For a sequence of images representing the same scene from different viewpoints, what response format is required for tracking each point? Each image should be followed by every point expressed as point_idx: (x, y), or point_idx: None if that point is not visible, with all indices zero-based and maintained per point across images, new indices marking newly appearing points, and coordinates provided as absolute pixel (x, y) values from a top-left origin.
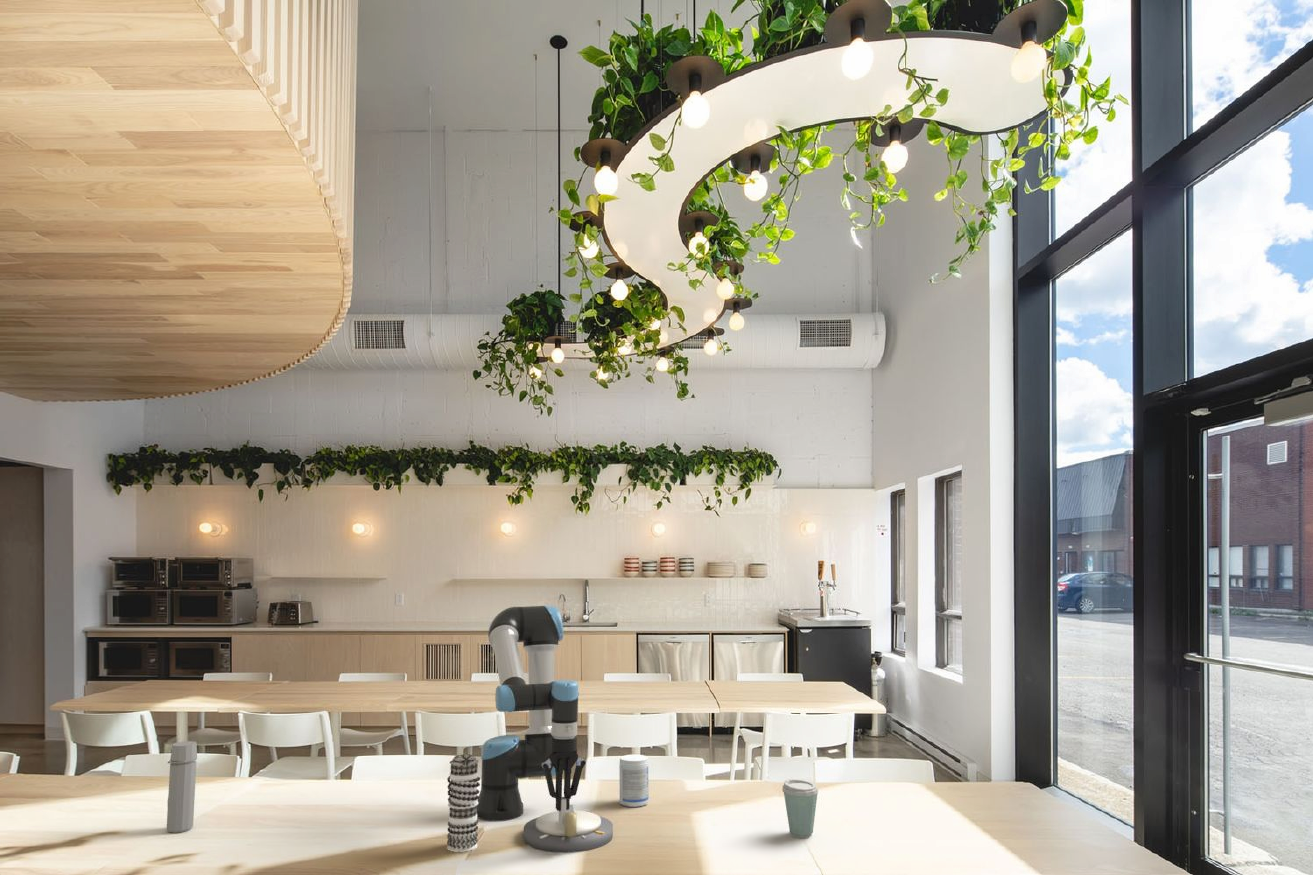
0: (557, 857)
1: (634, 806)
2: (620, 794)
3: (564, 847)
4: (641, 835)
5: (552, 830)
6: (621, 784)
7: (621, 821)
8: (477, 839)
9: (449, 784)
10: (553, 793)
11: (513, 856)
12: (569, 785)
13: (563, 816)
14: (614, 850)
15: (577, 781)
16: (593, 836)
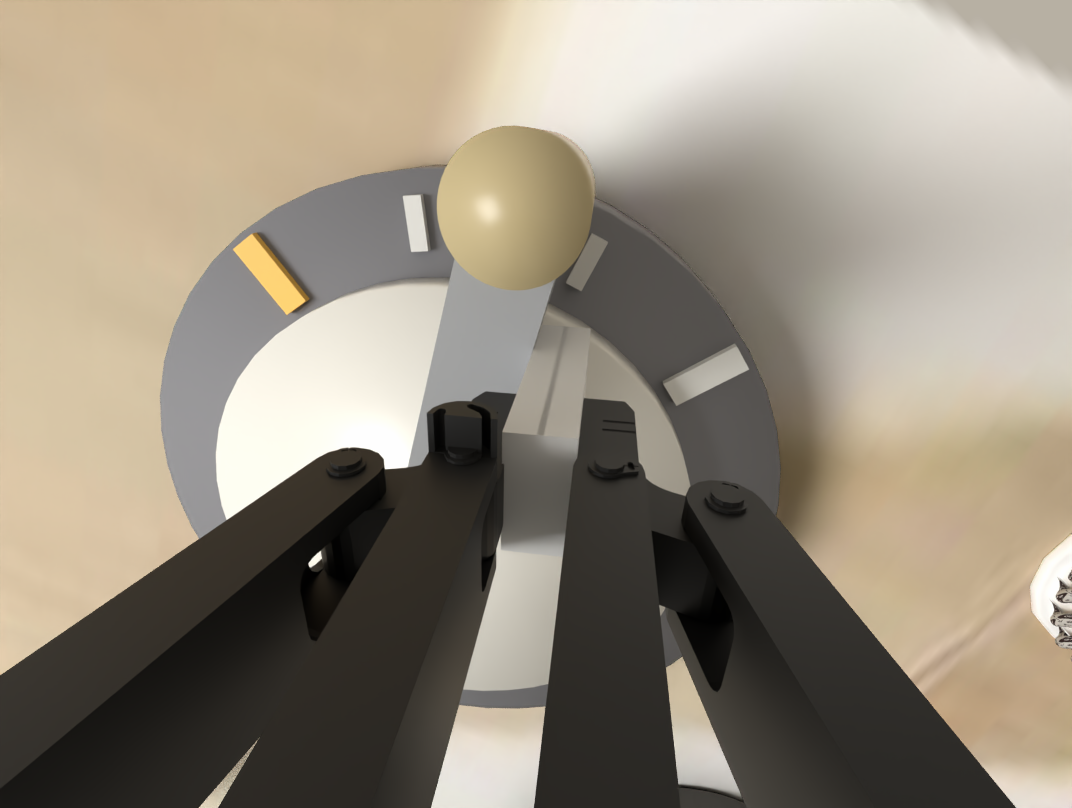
0: (688, 105)
1: None
2: None
3: (595, 201)
4: (26, 291)
5: (638, 383)
6: None
7: (133, 547)
8: (1068, 589)
9: None
10: (739, 522)
11: (968, 279)
12: (382, 572)
13: (563, 349)
14: (234, 67)
15: (153, 603)
16: (338, 216)
